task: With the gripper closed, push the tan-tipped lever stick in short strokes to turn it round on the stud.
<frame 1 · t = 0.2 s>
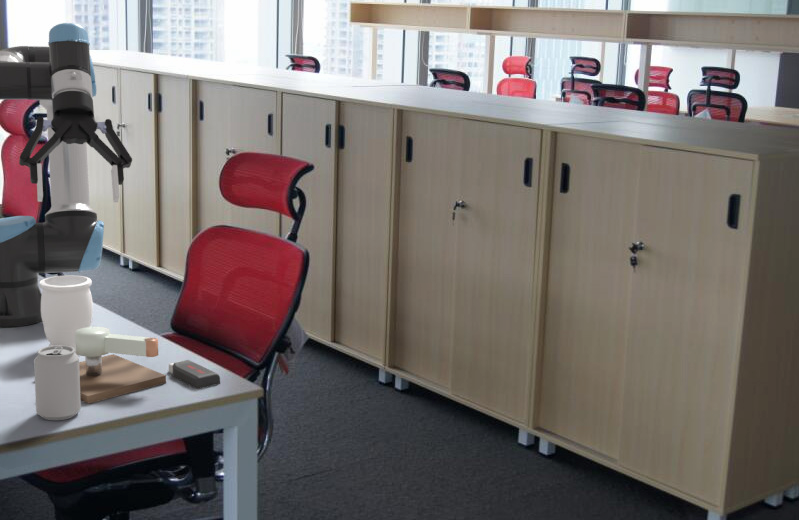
hand: (78, 199, 195), 36 cm above the table, tool tilted 35°, fingers open, 13 cm apart
base plate: (101, 381, 203), on the table
jar: (68, 350, 222), on the table
usb drive: (192, 380, 207), on the table
can: (58, 415, 186), on the table
stud: (94, 381, 203), resting on base plate
tan-tipped lever stick: (117, 343, 200), point 8 cm above the table, hinge at 0.0°
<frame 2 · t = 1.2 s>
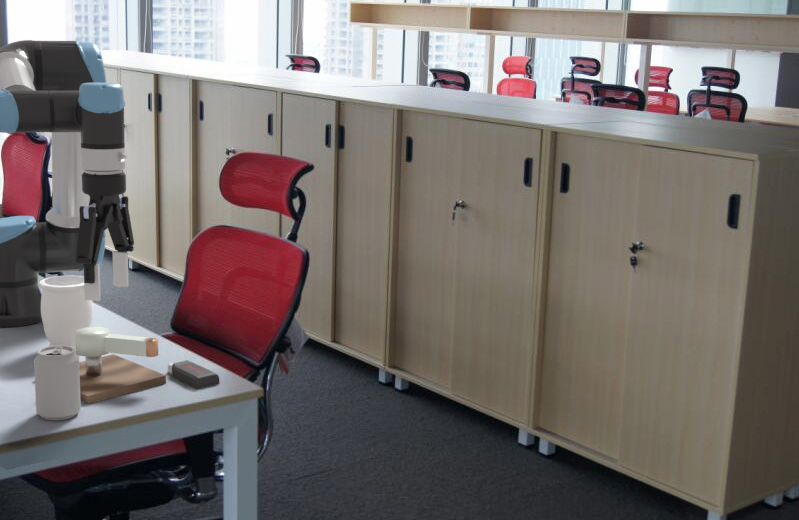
hand: (107, 293, 191), 20 cm above the table, tool pointing down, fingers open, 10 cm apart
nothing on the table moved.
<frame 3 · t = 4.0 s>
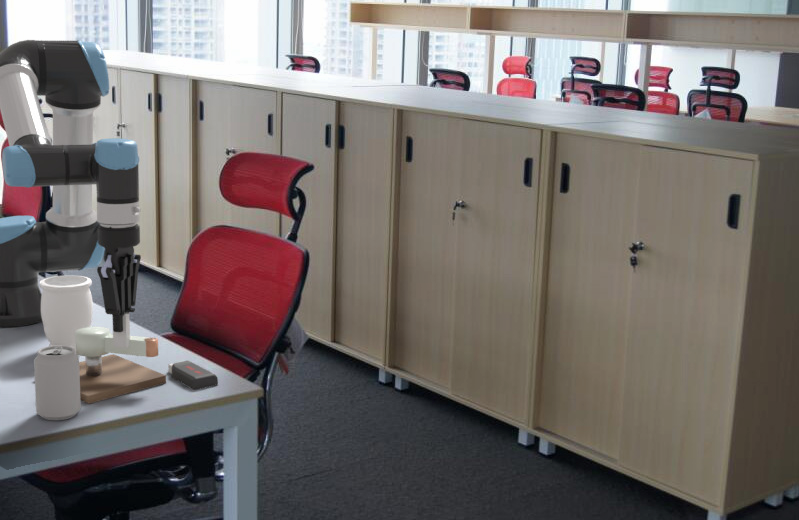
hand: (121, 346, 198), 8 cm above the table, tool pointing down, fingers closed
tan-tipped lever stick: (117, 343, 200), point 8 cm above the table, hinge at 0.0°, touching gripper
everything else where it was.
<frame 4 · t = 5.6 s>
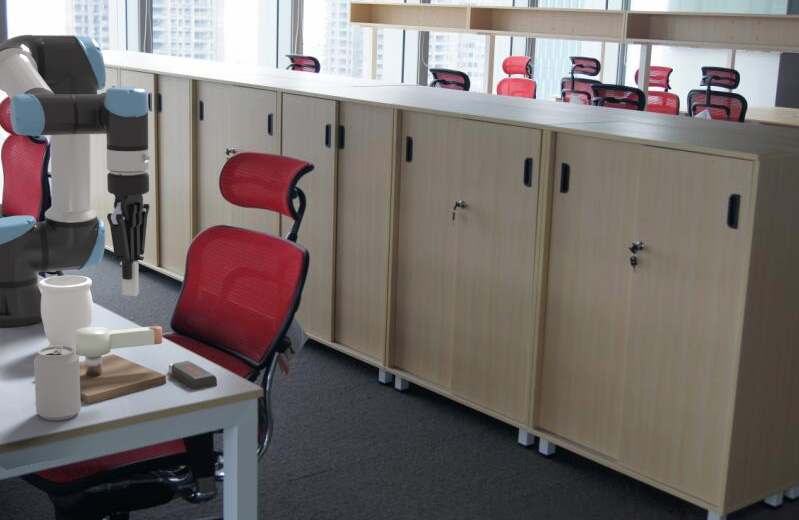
hand: (130, 294, 200), 17 cm above the table, tool pointing down, fingers closed
tan-tipped lever stick: (119, 338, 204), point 8 cm above the table, hinge at 38.7°
everything else where it was.
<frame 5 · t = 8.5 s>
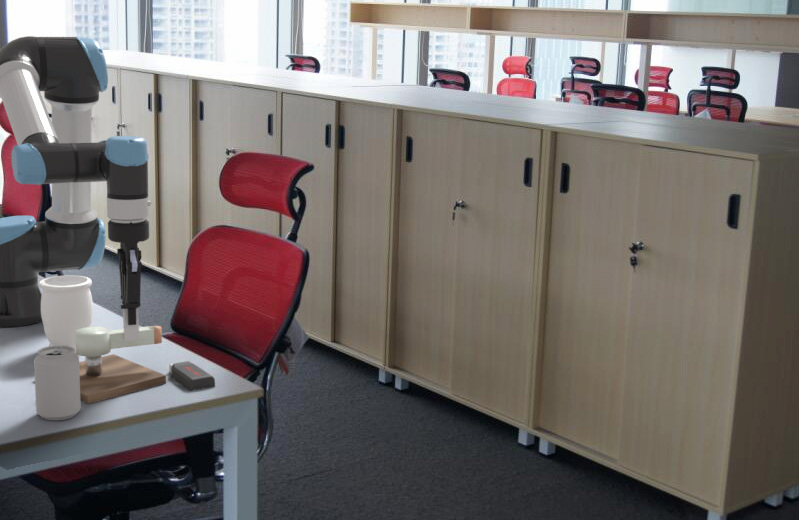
hand: (131, 339, 203), 8 cm above the table, tool pointing down, fingers closed
tan-tipped lever stick: (119, 338, 204), point 8 cm above the table, hinge at 40.1°, touching gripper
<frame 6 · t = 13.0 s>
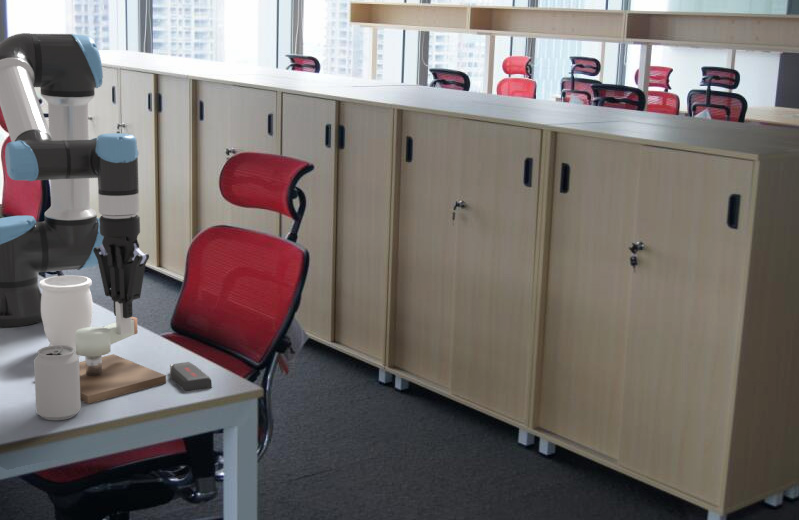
hand: (123, 332, 207), 8 cm above the table, tool pointing down, fingers closed
tan-tipped lever stick: (109, 334, 206), point 8 cm above the table, hinge at 80.4°, touching gripper
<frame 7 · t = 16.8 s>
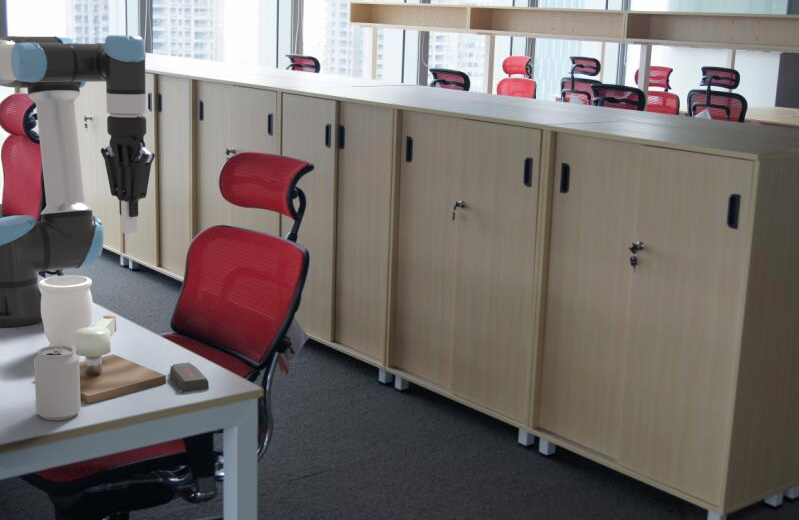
hand: (129, 232, 213), 26 cm above the table, tool pointing down, fingers closed
tan-tipped lever stick: (100, 333, 206), point 8 cm above the table, hinge at 102.5°
at the end: tan-tipped lever stick at +102° (first picture: +0°); the gripper is holding nothing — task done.
